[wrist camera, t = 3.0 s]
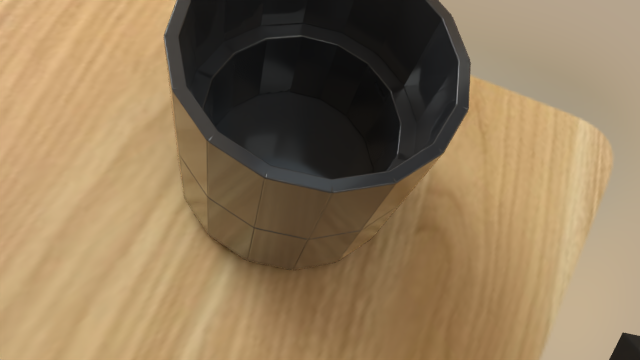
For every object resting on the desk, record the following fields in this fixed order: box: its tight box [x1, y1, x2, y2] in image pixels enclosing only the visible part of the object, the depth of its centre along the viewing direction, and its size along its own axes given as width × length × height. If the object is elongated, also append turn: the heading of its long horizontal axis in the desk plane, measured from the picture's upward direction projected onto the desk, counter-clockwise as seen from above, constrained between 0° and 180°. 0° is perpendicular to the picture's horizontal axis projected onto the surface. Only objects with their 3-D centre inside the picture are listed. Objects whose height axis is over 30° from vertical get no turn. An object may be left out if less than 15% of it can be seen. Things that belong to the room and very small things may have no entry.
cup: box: [164, 0, 471, 270], centre depth 24 cm, size 11×11×10 cm
